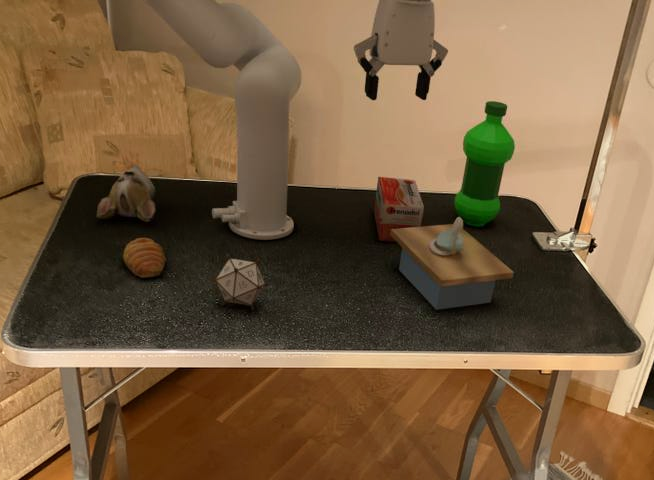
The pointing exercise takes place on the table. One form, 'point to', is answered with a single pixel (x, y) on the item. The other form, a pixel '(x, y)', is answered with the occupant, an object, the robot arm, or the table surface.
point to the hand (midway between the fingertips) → (396, 98)
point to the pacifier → (449, 240)
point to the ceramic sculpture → (129, 197)
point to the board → (451, 257)
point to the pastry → (144, 257)
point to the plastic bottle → (484, 167)
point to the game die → (240, 281)
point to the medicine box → (397, 206)
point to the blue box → (444, 287)
